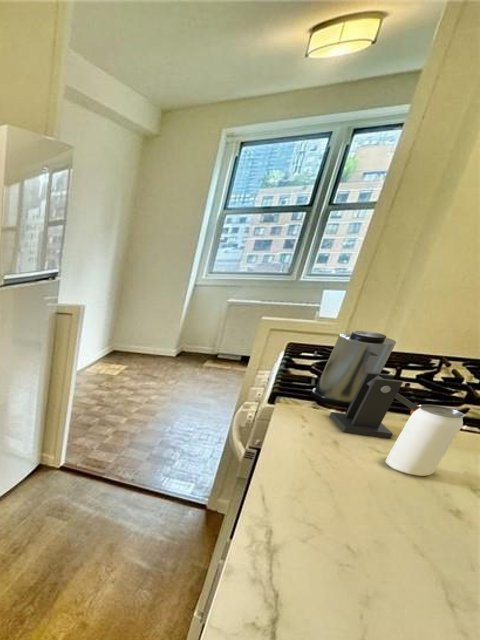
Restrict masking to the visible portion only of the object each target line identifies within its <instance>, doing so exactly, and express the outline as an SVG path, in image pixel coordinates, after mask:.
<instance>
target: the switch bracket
mask: <svg viewBox="0 0 480 640" xmlns="http://www.w3.org/2000/svg"><path fill="white" fill-rule="evenodd" d="M378 375H379V376H380V377H382V378H383V379H380V378H375V377H376V376H378ZM394 378H395V375H394V374H390V373H382V372H381V373H371V372H366V373H365V375H364V377H363V380H362V382H361V384H360V386H359V388H358V390H357V392H356V394H355V396H354V398H353V400H352V402H351V404H350V406H349V408H347V410H346V412H345V413H341V412H336V411H335V412H334V411H331V412H330V414H329V417H328V418H330V419H331V420H332V422H334V424H335V425H336V426H337V427H338V428H339V429H340V431H341V432H342V433H346V434H353V435H360V436H368V437H377V438H381V439H382V438H383V439H392V437H393V435H394V433H393V432H392V431H391V430H390V429H389V428H388V427H386V426H385V425H384V424H383V423H382V422H383V421H384V418H385V416H386V415H387V413H388V411H389V409H390V407H391V406H392V403H393V402H394V400H395V396H396V394H397V393H398V392H399V391H400V388H401V386H402V385H403V382H404V381H402V380H398V379H394ZM372 379H373V381H372V383H371V385H370V386H369V385H367V383H368V382H369V381H371V380H372Z"/></svg>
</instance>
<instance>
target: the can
mask: <svg viewBox="0 0 480 640" xmlns="http://www.w3.org/2000/svg"><path fill="white" fill-rule="evenodd" d="M420 405H421V406H420V408H419V409H417V410H416V411H414V412H413V413H412V415H411V414H410V416H409V418H408V420H407V421H406V423H405V425H404V427H403V428H402V430H401V432H400V434H399V435H398V437H397V439H396V440H395V443H393V446H392V448H391V450H390V452H388V455H387V457H386V459H385V463H386V465H387V466H388V467H389V468H391V469H392V470H394V471H396V472H399V473H402V474H405V475H409V476H415V477H428V476H431V475H433V473H434V472H435V470H436V468H437V467H438V466H439V464H440V462H442V459H443V458H444V457H445V454H446V453H447V452H448V450H449V448H450V447H451V445H452V443H453V442H454V441H455V439H456V437H457V435H458V434H459V432H460V430H461V429H462V428H463V426H464V421H463V419H464V417H466V416H465V413H463V412H461V411H459V410H457V409H454V408H451V407H448V406H443V405H437V404H420Z"/></svg>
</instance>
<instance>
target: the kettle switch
mask: <svg viewBox="0 0 480 640" xmlns="http://www.w3.org/2000/svg"><path fill="white" fill-rule="evenodd" d="M375 378H380V379H383V378H382V377H380V376H379V375H378V376H376V377H375ZM372 381H373V379H372V380H371V381H369V382H368V383H367V385H369V386H370V385H371V383H372ZM394 400H397V401H398V402H400V403H401V404H403V405H404V406H406V407H407V408H409V409H410V416H411V415H412V413H413V412H414V411H416V410H417V409H419V408H420V406H421V405H422V404H419V405H417V404H415V403H413V402H412V401H411V400H409V399H407V397H404V396H403V395H401V393H398V392H397V394H396V396H395V398H394Z"/></svg>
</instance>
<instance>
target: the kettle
mask: <svg viewBox="0 0 480 640" xmlns="http://www.w3.org/2000/svg"><path fill="white" fill-rule="evenodd" d="M396 344H397V341H396V340H394V339H391V338H389V337H387V335H386V334H383V333H379V332H375V331H367V330H354V331H352V332H342V333H340V334H339V335H338V337H337V340H336V342H335V344H334V346H333V349H332V351H331V352H330V355H329V357H328V360H327V362H326V364H325V366H324V369H323V371H322V373H321V375H320V378H319V379H318V382H317V384H316V386H315V387H314V388H312V389H311V392H310V394H309V395H310V397H311V398H312V399H314V400H316V401H319V402H321V403H323V404H327V405H331V406H335V407H340V408H347V409H348V408H349V406H350V404H351V402H352V400H353V398H354V396H355V394H356V392H357V390H358V388H359V386H360V384H361V382H362V380H363V377H364V375H365V373H366V372H371V373H381V374H382V373H383V369H384V368H385V366H386V363H387V362H388V359H389V357H390V356H391V353H392V352H393V350H394V348H395V346H396Z"/></svg>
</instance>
